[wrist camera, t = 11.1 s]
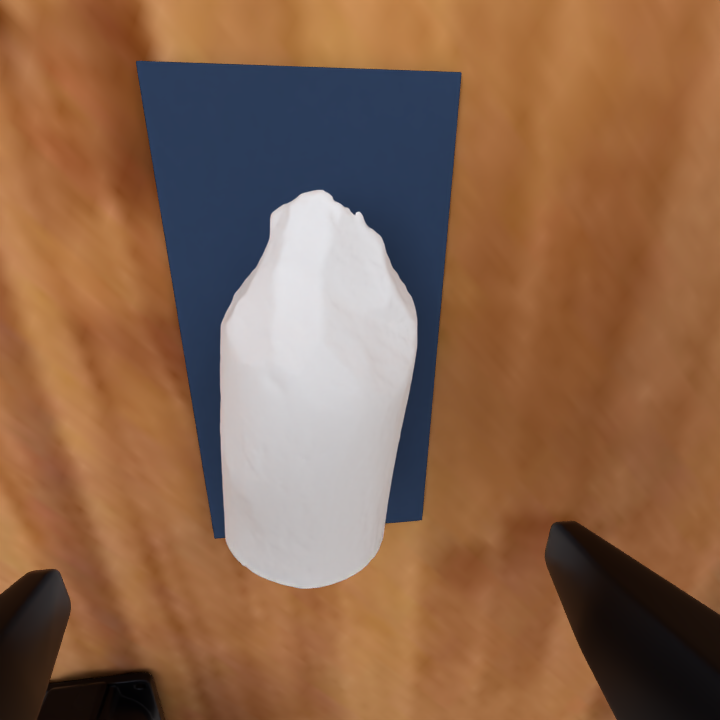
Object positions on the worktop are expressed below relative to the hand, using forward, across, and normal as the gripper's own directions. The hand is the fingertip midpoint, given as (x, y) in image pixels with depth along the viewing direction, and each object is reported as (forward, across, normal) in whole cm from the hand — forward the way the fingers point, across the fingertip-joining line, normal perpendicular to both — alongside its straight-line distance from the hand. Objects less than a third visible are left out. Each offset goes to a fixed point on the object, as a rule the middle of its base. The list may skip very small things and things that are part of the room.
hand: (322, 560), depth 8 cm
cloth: (+10, 0, 0) cm, 10 cm away
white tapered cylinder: (+10, 0, 0) cm, 10 cm away
